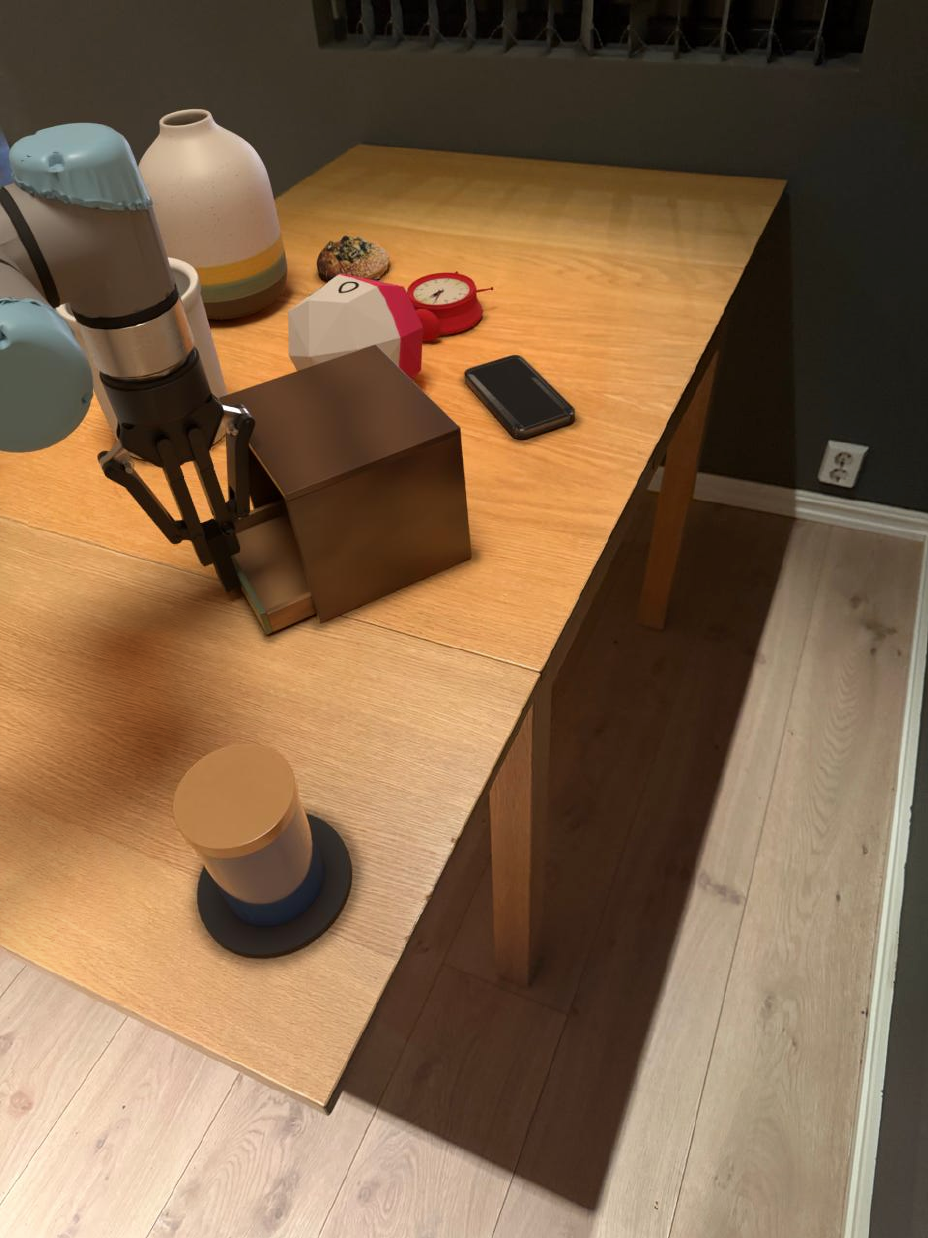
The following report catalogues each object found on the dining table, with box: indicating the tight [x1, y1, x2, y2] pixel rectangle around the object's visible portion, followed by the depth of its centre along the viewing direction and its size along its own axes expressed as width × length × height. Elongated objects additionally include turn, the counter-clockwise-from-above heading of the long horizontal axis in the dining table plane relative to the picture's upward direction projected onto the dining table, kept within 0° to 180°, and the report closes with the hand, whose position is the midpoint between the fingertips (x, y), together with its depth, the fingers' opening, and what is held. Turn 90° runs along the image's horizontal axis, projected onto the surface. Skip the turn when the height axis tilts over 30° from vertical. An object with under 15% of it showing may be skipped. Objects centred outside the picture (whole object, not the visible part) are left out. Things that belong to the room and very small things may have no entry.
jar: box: [172, 743, 324, 927], centre depth 59 cm, size 8×8×11 cm
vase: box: [137, 108, 288, 321], centre depth 117 cm, size 17×17×24 cm
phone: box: [463, 354, 576, 440], centre depth 103 cm, size 8×1×15 cm
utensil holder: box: [55, 257, 228, 461], centre depth 98 cm, size 15×15×18 cm
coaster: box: [196, 812, 353, 959], centre depth 63 cm, size 11×11×1 cm
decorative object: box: [287, 273, 423, 380], centre depth 102 cm, size 15×15×15 cm
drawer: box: [231, 498, 317, 635], centre depth 86 cm, size 15×15×3 cm
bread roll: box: [316, 234, 390, 282], centre depth 129 cm, size 11×11×5 cm
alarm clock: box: [406, 271, 494, 342], centre depth 116 cm, size 10×6×15 cm
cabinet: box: [219, 345, 473, 624], centre depth 83 cm, size 16×17×15 cm
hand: (229, 581), depth 84 cm, fingers closed
